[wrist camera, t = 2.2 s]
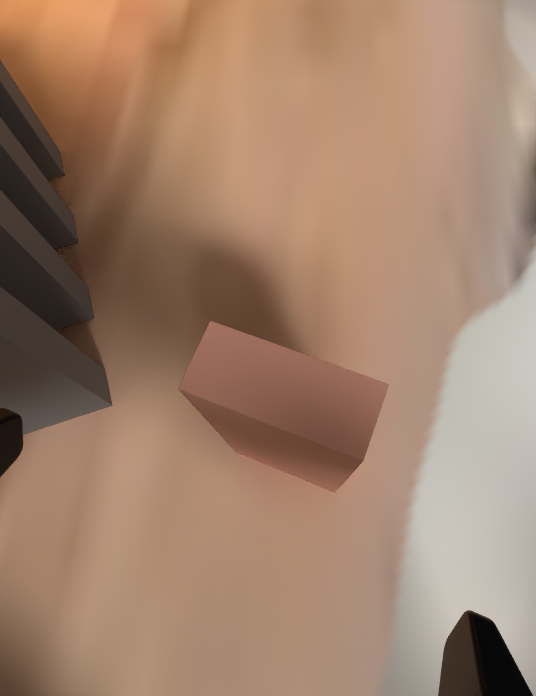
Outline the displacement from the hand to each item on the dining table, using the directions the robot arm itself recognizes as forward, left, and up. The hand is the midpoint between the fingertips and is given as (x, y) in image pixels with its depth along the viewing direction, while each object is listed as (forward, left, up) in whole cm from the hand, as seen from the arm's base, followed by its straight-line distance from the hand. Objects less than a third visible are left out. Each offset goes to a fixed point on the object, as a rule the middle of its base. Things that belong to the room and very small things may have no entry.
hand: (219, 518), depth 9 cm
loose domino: (+3, +1, -11) cm, 11 cm away
